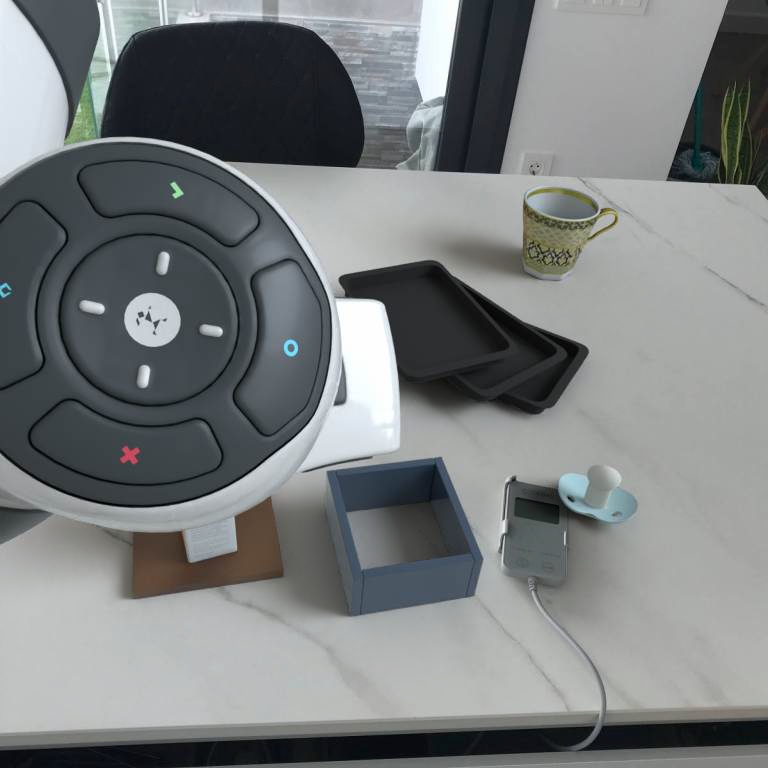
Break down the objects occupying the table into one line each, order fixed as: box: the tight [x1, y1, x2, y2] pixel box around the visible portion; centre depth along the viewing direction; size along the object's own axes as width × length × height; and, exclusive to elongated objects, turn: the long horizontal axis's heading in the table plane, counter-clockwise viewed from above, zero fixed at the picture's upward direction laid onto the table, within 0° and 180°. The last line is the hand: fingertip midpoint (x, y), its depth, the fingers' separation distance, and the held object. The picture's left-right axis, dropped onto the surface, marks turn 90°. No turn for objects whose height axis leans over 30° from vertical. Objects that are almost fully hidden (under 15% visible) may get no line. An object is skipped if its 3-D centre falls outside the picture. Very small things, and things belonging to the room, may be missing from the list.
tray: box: [337, 259, 590, 415], centre depth 88 cm, size 30×23×5 cm
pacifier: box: [557, 464, 639, 525], centre depth 72 cm, size 7×6×6 cm
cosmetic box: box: [182, 517, 237, 563], centre depth 63 cm, size 6×4×12 cm
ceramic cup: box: [521, 184, 619, 281], centre depth 104 cm, size 13×10×10 cm
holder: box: [324, 456, 484, 617], centre depth 66 cm, size 11×12×5 cm
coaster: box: [132, 495, 285, 600], centre depth 67 cm, size 12×10×1 cm
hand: (185, 415), depth 43 cm, fingers open, 8 cm apart
